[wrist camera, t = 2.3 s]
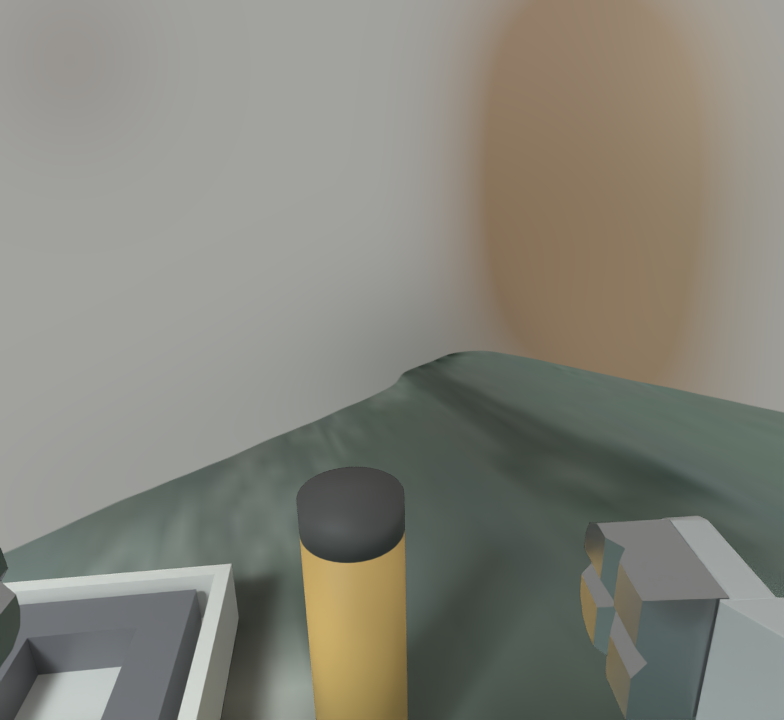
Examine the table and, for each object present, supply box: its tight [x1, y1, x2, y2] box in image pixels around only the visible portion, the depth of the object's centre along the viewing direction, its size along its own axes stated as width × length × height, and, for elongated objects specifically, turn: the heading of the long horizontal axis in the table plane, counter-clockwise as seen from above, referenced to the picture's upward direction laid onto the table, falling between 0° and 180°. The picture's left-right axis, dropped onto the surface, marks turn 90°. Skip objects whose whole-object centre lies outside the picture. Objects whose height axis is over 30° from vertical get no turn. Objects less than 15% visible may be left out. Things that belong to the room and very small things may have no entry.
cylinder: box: [297, 467, 408, 720], centre depth 24 cm, size 4×4×14 cm
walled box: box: [0, 564, 239, 720], centre depth 28 cm, size 14×13×4 cm
